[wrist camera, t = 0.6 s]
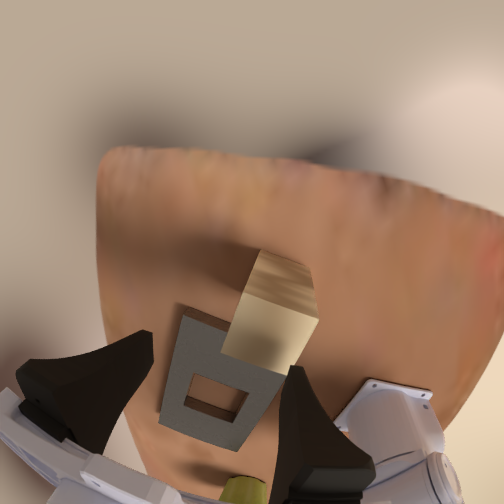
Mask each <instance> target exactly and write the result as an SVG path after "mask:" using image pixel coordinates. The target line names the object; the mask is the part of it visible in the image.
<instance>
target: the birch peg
mask: <svg viewBox="0 0 504 504" xmlns="http://www.w3.org/2000/svg"><path fill="white" fill-rule="evenodd" d="M318 321H319V315H318V309H317V303H316V298H315V292H314V287H313V282H312V276H311V271H310V268H309V267H306V266H304V265H301V264H298V263H296V262H293V261H290V260H288V259H285V258H282V257H280V256H277V255H274V254H272V253H269V252H266V251H264V250H260V252H259V254H258V257H257V259H256V262H255V264H254V267H253V269H252V271H251V274H250V276H249V279H248V281H247V284H246V286H245V288H244V291H243V293H242V296H241V299H240V301H239V304H238V307H237V309H236V312H235V315H234V317H233V320H232V323H231V325H230V328H229V331H228V333H227V336H226V339H225V341H224V344H223V347H222V349H221V352H220V353H223V354H225V355H228V356H231V357H233V358H236V359H239V360H242V361H245V362H247V363H250V364H253V365H256V366H259V367H262V368H265V369H268V370H271V371H274V372H277V373H281V374H284V375H287V374H288V371H289V368H290V365H294V364H295V363H296V361H297V359H298V358H299V356H300V354H301V352H302V351H303V349H304V347H305V345H306V343H307V342H308V340H309V338H310V336H311V334H312V332H313V331H314V329H315V327H316V325H317V323H318Z"/></svg>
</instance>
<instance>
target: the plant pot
mask: <svg viewBox="0 0 504 504" xmlns="http://www.w3.org/2000/svg"><path fill="white" fill-rule="evenodd" d="M218 501H223V502H228V503H233V504H267V494H266V484H265V483H262V482H261V481H259V480H258V479H256V478H252V477H245V476H238V477H236V478H229V479H228V481H227V483H226V485H225V488H224V490H223V492H222V494H221V496H220V498H219V500H218Z"/></svg>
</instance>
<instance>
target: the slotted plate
mask: <svg viewBox="0 0 504 504" xmlns="http://www.w3.org/2000/svg"><path fill="white" fill-rule="evenodd" d="M230 325H231V323H229V322H226V321H223V320H221V319H218V318H216V317H213V316H211V315H208V314H206V313H203V312H201V311H198V310H196V309H194V308H191V307H188V309H187V310H186V311H185V313H184V314H183V317H182V321H181V325H180V328H179V332H178V336H177V340H176V345H175V349H174V353H173V357H172V361H171V366H170V370H169V374H168V379H167V383H166V388H165V393H164V397H163V402H162V407H161V412H160V417H159V422H158V423H159V424H162V425H164V426H166V427H168V428H171V429H173V430H175V431H178V432H180V433H183V434H185V435H188V436H190V437H193V438H196V439H198V440H201V441H204V442H207V443H210V444H213V445H216V446H219V447H222V448H225V449H228V450H231V451H235V452H237V451H238V450H239V449H240V447H241V446H242V444H243V443H244V442H245V440H246V439H247V437H248V436H249V434H250V433H251V431H252V430H253V429H254V427H255V426H256V424H257V423H258V421H259V420H260V418H261V417H262V415H263V414H264V412H265V411H266V409H267V407H268V406H269V404H270V403H271V401H272V400H273V398H274V396H275V395H276V393H277V392H278V390H279V388H280V387H281V385H282V384H283V382H284V380H285V379H286V377H287V375H284V374H281V373H277V372H274V371H271V370H268V369H265V368H262V367H259V366H256V365H253V364H250V363H247V362H245V361H242V360H239V359H236V358H233V357H231V356H228V355H225V354H223V353H220V352H221V349H222V347H223V344H224V341H225V339H226V336H227V333H228V331H229V328H230ZM195 373H196V374H199V375H201V376H204V377H206V378H209V379H211V380H214V381H217V382H219V383H222V384H225V385H227V386H230V387H233V388H236V389H239V390H242V391H245V392H247V393H246V395H245V397H244V398H243V400H242V402H241V404H240V406H239V408H238V409H237V411H236V413H235V414H234V413H231V412H228V411H225V410H223V409H220V408H217V407H214V406H211V405H209V404H206V403H203V402H201V401H198V400H196V399H193V398H191V397H188V393H189V390H190V387H191V384H192V380H193V377H194V374H195Z"/></svg>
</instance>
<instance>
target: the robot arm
mask: <svg viewBox="0 0 504 504" xmlns="http://www.w3.org/2000/svg"><path fill="white" fill-rule="evenodd" d="M153 363H154V357H153V337H152V332H149V331H145V330H140V331H138V332H136V333H134V334H132V335H129V336H127V337H125V338H123V339H121V340H119V341H117V342H115V343H112V344H110V345H108V346H105V347H103V348H100V349H98V350H95V351H92V352H89V353H85V354H81V355H77V356H72V357H67V358H59V359H29V360H28V361H27V362H26V363H25V364H23V365H22V366H21V367H20V368H19V369H17V370H16V379H17V381H18V384H19V385H20V388H21V390H22V392H23V394H24V396H25V398H26V399H25V400H24V401H23V402H22V400H21V399H20V398H19V397H18V396H17V395H16V394H15V393H14V392H12V391H11V390H10V389H9V388H7V387H6V388H5V389H4V390H3V391H2V392H1V393H0V438H1V440H2V441H4V442H5V444H6V445H8V446H9V447H10V448H11V449H12V450H13V451H14V452H15V453H16V454H17V455H18V456H19V457H20V458H21V459H23V460H24V461H25V462H26V463H27V464H28V465H29V466H30V467H32V468H33V469H34V470H35V471H36V472H38V473H39V474H40V475H41V476H42V477H44V478H45V479H46V480H47V481H49V482H50V483H51V484H53V485H54V486H55V487H57V488H56V490H55V491H54V492H53V494H52V495H51V497H50V498H49V500H48V501H47V503H46V504H233V503H228V502H223V501H218V500H214V499H210V498H206V497H202V496H198V495H194V494H191V493H187V492H184V491H180V490H177V489H175V488H173V487H172V486H170V485H169V484H167V483H165V482H162V481H160V480H158V479H156V478H153V477H150V476H148V475H145V474H143V473H140V472H138V471H135V470H133V469H130V468H128V467H126V466H124V465H122V464H120V463H117V462H115V461H113V460H111V459H109V458H107V457H105V456H102V454H103V452H104V449H105V446H106V444H107V441H108V439H109V437H110V435H111V432H112V430H113V428H114V426H115V424H116V422H117V420H118V418H119V416H120V414H121V412H122V411H123V409H124V407H125V406H126V404H127V403H128V401H129V400H130V399H131V397H132V396H133V394H134V393H135V392H136V390H137V389H138V388H139V386H140V385H141V383H142V382H143V381H144V379H145V378H146V376H147V374H148V372H149V371H150V369H151V367H152V365H153ZM374 384H375V385H374ZM432 395H433V393H432V391H428V390H422V389H417V388H412V387H407V386H402V385H397V384H392V383H388V382H383V381H379V380H374V379H369V380H367V381H366V382H365V384H364V385H363V386H362V388H361V389H360V390H359V392H358V393H357V394H356V395H355V397H354V398H353V399H352V400H351V402H350V403H349V404H348V405H347V406H346V408H345V409H344V410H343V411H342V412H341V414H340V415H339V416H338V417H337V418H336V419H335V421H334V422H332V420H331V419H330V418H329V416H328V415H327V414H326V412H325V411H324V409H323V407H322V406H321V404H320V402H319V401H318V399H317V397H316V395H315V393H314V391H313V389H312V387H311V385H310V383H309V380H308V378H307V376H306V373H305V370H304V368H303V367H302V366H295V365H290V368H289V371H288V374H287V377H286V380H285V384H284V387H283V390H282V393H281V400H280V407H279V445H278V455H277V462H276V468H275V474H274V479H273V485H272V490H271V495H270V499H269V504H464V501H463V498H462V494H461V487H460V483H459V480H458V477H457V475H456V472H455V470H454V468H453V466H452V464H451V462H450V461H449V459H448V458H447V456H446V455H445V454H443V451H444V446H445V437H444V434H443V431H442V428H441V426H440V424H439V422H438V419H437V417H436V415H435V413H434V411H433V408H432V406H431V404H430V402H429V399H430V398H431V397H432ZM341 431H347V432H348V434H349V439H348V438H347V437H346V436H345V435H344V434H343V433H342V432H341Z"/></svg>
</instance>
